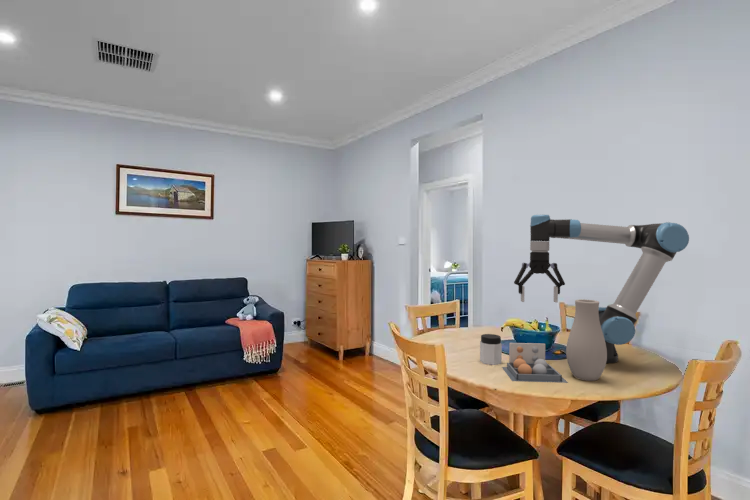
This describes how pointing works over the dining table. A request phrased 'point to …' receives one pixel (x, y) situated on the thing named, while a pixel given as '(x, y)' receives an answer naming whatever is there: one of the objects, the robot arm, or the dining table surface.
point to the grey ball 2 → (539, 369)
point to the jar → (490, 349)
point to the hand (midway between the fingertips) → (538, 301)
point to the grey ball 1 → (541, 362)
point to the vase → (586, 342)
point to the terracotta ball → (518, 362)
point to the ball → (524, 369)
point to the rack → (530, 363)
